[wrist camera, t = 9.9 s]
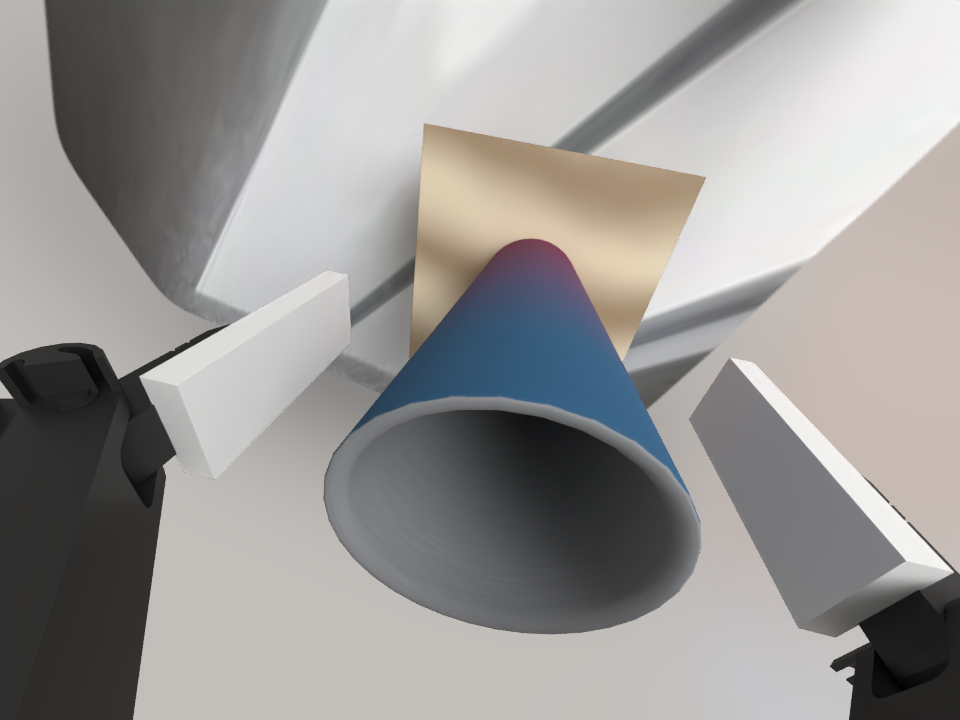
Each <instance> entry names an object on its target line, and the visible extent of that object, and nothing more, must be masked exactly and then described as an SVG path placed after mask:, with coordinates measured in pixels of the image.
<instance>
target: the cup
mask: <svg viewBox="0 0 960 720" xmlns="http://www.w3.org/2000/svg"><path fill="white" fill-rule="evenodd" d="M324 502H325V506H326V511H327V514H328V519H329V522H330V523H331V525H332V527H333V529H334V531H335V533H336V535H337V537H338V539H339V541H340V542H341V543H342V544H343V546H344V547H345V548H346V549H347V551H348V552H349V553H350V555H351V556H352V557H353V558H354V559H355V560H356V561H357V562H358V563H359V564H360V565H361V566H362V567H363V568H364V569H365V570H367V571H368V572H369V573H370V574H371V575H372V576H373V577H375V578H376V579H377V580H379V581H380V582H382V583H383V584H385V585H386V586H387V587H389V588H391V589H392V590H393V591H395V592H396V593H398V594H400V595H402V596H404V597H406V598H407V599H409V600H411V601H413V602H415V603H416V604H419V605H421V606H423V607H426V608H428V609H430V610H433V611H435V612H437V613H440V614H442V615H445V616H448V617H451V618H454V619H457V620H460V621H464V622H467V623H470V624H475V625H479V626H484V627H488V628H492V629H498V630H505V631H512V632H520V633H534V634H566V633H582V632H587V631H593V630H599V629H604V628H609V627H613V626H616V625H619V624H622V623H626V622H629V621H632V620H635V619H637V618H639V617H641V616H643V615H645V614H647V613H649V612H651V611H653V610H655V609H657V608H659V607H660V606H661V605H663V604H664V603H665V602H667V601H668V600H669V599H670V598H672V597H673V596H674V595H675V594H677V593H678V592H679V591H680V589H681V588H682V587H683V585H684V584H685V583H686V581H687V580H688V579H689V577H690V576H691V575H692V573H693V571H694V568H695V565H696V562H697V559H698V556H699V553H700V550H701V534H700V520H699V517H698V515H697V512H696V510H695V507H694V505H693V502H692V500H691V498H690V494H689V492H688V490H687V488H686V486H685V484H684V482H683V480H682V478H681V477H680V475H679V473H678V471H677V469H676V467H675V465H674V463H673V461H672V459H671V457H670V455H669V453H668V451H667V449H666V447H665V445H664V443H663V442H662V439H661V437H660V436H659V433H658V431H657V430H656V428H655V426H654V424H653V422H652V420H651V418H650V416H649V414H648V412H647V410H646V408H645V406H644V404H643V402H642V400H641V398H640V396H639V394H638V392H637V390H636V388H635V386H634V385H633V383H632V381H631V379H630V377H629V375H628V373H627V371H626V369H625V367H624V365H623V363H622V361H621V359H620V357H619V355H618V353H617V351H616V349H615V347H614V345H613V343H612V341H611V339H610V338H609V336H608V334H607V332H606V330H605V328H604V326H603V324H602V322H601V320H600V318H599V316H598V314H597V312H596V310H595V308H594V306H593V304H592V302H591V300H590V298H589V296H588V294H587V292H586V291H585V289H584V287H583V285H582V283H581V281H580V279H579V277H578V275H577V273H576V271H575V269H574V267H573V265H572V263H571V261H570V260H569V258H568V257H567V256H566V254H565V253H564V252H563V251H562V250H561V249H560V248H558V247H557V246H555V245H553V244H552V243H550V242H547V241H544V240H541V239H532V238H530V239H521V240H518V241H514V242H512V243H510V244H508V245H506V246H504V247H503V248H502V249H500V250H499V251H498V252H497V253H496V254H495V255H494V257H493V258H492V259H491V260H490V262H489V263H488V264H487V265H486V266H485V268H484V269H483V270H482V271H481V273H480V274H479V275H478V276H477V278H476V279H475V280H474V281H473V282H472V284H471V285H470V286H469V287H468V289H467V290H466V291H465V292H464V293H463V295H462V296H461V297H460V298H459V300H458V301H457V302H456V303H455V305H454V306H453V307H452V308H451V309H450V311H449V312H448V313H447V314H446V316H445V317H444V318H443V319H442V320H441V322H440V323H439V324H438V325H437V327H436V328H435V329H434V330H433V332H432V333H431V334H430V335H429V336H428V338H427V339H426V340H425V341H424V343H423V344H422V345H421V346H420V347H419V349H418V350H417V351H416V352H415V354H414V355H413V356H412V357H411V359H410V360H409V361H408V362H407V363H406V365H405V366H404V367H403V368H402V370H401V371H400V372H399V373H398V375H397V376H396V377H395V378H394V379H393V381H392V382H391V383H390V384H389V386H388V387H387V388H386V389H385V390H384V392H383V393H382V394H381V395H380V397H379V398H378V399H377V400H376V402H375V403H374V404H373V405H372V406H371V408H370V409H369V410H368V411H367V413H366V414H365V415H364V416H363V418H362V419H361V420H360V421H359V422H358V424H357V425H356V426H355V427H354V429H353V430H352V431H351V432H350V433H349V435H348V436H347V437H346V438H345V440H344V441H343V442H342V443H341V444H340V446H339V447H338V448H337V449H336V451H335V452H334V453H333V456H332V458H331V461H330V463H329V466H328V469H327V471H326V474H325V480H324Z"/></svg>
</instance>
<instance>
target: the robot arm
mask: <svg viewBox="0 0 960 720" xmlns="http://www.w3.org/2000/svg"><path fill="white" fill-rule="evenodd" d="M350 343H351V323H350V303H349V283H348V275H347V274H342V273H337V272H333V271H328V270H327V271H325V272H323V273H321V274H320V275H318V276H316V277H314V278H313V279H311V280H309V281H307V282H306V283H304V284H302V285H300V286H298V287H297V288H295V289H293V290H291V291H290V292H288V293H286V294H284V295H283V296H281V297H279V298H277V299H275V300H274V301H272V302H270V303H268V304H267V305H265V306H263V307H261V308H260V309H258V310H256V311H254V312H252V313H251V314H249V315H247V316H245V317H244V318H242V319H240V320H238V321H237V322H235V323H233V324H229V325H225V326H222V327H219V328H215V329H212V330H209V331H206V332H205V333H203V334H201V335H199V336H197V337H195V338H194V339H192V340H190V342H189V343H184V344H182V345H181V346H179V347H177V348H175V351H170V352H168V353H166V354H164V355H162V356H160V357H159V358H157V359H155V360H153V361H151V362H149V363H148V364H146V365H144V366H142V367H140V368H139V369H137V370H135V371H133V372H131V373H129V374H127V375H126V376H124V377H122V378H120V379H118V378H117V377H116V375H115V373H114V371H113V369H112V367H111V365H110V363H109V361H108V359H107V357H106V355H105V353H104V351H103V350H102V349H100V348H99V347H97V346H96V345H91V344H84V343H63V344H57V345H50V346H44V347H39V348H36V349H32V350H29V351H25V352H22V353H19V354H17V355H15V356H12V357H10V358H8V359H6V360H4V361H2V362H1V363H0V381H1V382H2V383H3V385H4V386H5V387H6V389H7V390H8V391H9V393H10V394H11V395H12V397H13V398H14V399H0V720H133V715H134V706H135V699H136V692H137V685H138V678H139V671H140V663H141V656H142V649H143V641H144V634H145V627H146V619H147V612H148V604H149V598H150V590H151V582H152V576H153V568H154V560H155V554H156V546H157V539H158V531H159V524H160V517H161V510H162V502H163V495H164V488H165V481H166V475H165V471H164V468H163V465H164V464H165V463H166V462H167V461H169V460H170V459H171V458H172V457H173V456H175V455H176V456H177V459H178V461H179V463H180V465H181V467H182V469H183V471H184V472H185V473H189V474H193V475H197V476H201V477H205V478H209V479H213V480H215V479H216V478H217V477H218V476H219V475H220V474H221V473H222V472H223V471H224V470H225V469H226V468H227V467H228V466H229V465H230V464H231V463H232V462H233V461H234V460H235V459H236V458H237V457H238V456H239V455H240V454H241V453H242V452H243V451H244V450H245V449H246V448H247V447H248V446H249V445H250V444H251V443H252V442H253V441H254V440H255V439H256V438H257V437H258V436H259V435H260V434H261V433H262V432H263V431H264V430H265V429H266V428H267V427H268V426H269V425H270V424H271V423H272V422H273V421H274V420H275V419H276V418H277V417H278V416H279V415H280V414H281V413H282V412H283V411H284V410H285V409H286V408H287V407H288V406H289V405H290V404H291V403H292V402H293V401H294V400H295V399H296V398H297V397H298V396H299V395H300V394H301V393H302V392H303V391H304V390H305V389H306V388H307V387H308V386H309V385H310V384H311V383H312V382H313V381H314V380H315V379H316V378H317V377H318V376H319V375H320V374H321V373H322V372H323V371H324V370H325V369H326V368H327V367H328V366H329V365H330V364H331V363H332V362H333V361H334V360H335V359H336V358H337V357H338V356H339V355H340V354H341V353H342V352H343V351H344V350H345V349H346V348H347V347H348V346H349V345H350ZM689 420H690V422H691V424H692V426H693V428H694V429H695V431H696V433H697V435H698V437H699V439H700V441H701V443H702V445H703V447H704V448H705V451H706V453H707V454H708V456H709V458H710V460H711V462H712V464H713V466H714V468H715V470H716V472H717V474H718V475H719V477H720V479H721V481H722V483H723V485H724V487H725V489H726V491H727V493H728V495H729V496H730V498H731V500H732V502H733V504H734V506H735V508H736V510H737V512H738V514H739V516H740V518H741V519H742V521H743V523H744V525H745V527H746V529H747V531H748V533H749V535H750V537H751V539H752V540H753V542H754V544H755V546H756V548H757V550H758V552H759V554H760V556H761V557H762V560H763V561H764V563H765V565H766V567H767V569H768V571H769V573H770V575H771V577H772V578H773V580H774V583H775V584H776V586H777V588H778V590H779V592H780V594H781V596H782V598H783V600H784V602H785V604H786V605H787V607H788V609H789V611H790V613H791V615H792V617H793V619H794V621H795V623H796V625H797V626H798V628H800V629H804V630H808V631H812V632H816V633H820V634H824V635H828V636H832V637H838V636H839V635H841V634H843V633H844V632H847V631H848V630H850V629H852V628H854V627H856V626H857V625H859V626H860V627H861V629H862V630H863V632H864V633H865V635H866V636H867V638H868V639H869V641H870V642H869V643H867V644H865V645H863V646H861V647H859V648H857V649H855V650H853V651H851V652H849V653H847V654H845V655H843V656H842V657H839V658H837V659H835V660H834V661H833V663H832V664H831V666H830V667H831V668H832V669H834V670H835V671H836V672H837V671H839V670H842V669H844V668H846V667H848V666H849V667H852V668H855V674H854V676H851V677H849V678H847V679H846V680H847V681H848V682H849V683H850V684H852V685H853V691H852V699H851V708H850V716H849V720H960V574H959V573H958V572H957V571H956V570H955V569H954V568H953V567H952V566H951V565H950V564H949V563H948V562H947V561H946V560H945V559H944V558H943V557H942V556H941V555H940V554H939V553H938V551H937V550H936V549H935V548H934V547H933V546H932V545H931V544H930V543H929V542H928V541H927V540H926V539H925V538H924V537H923V536H922V535H921V534H920V533H919V532H918V531H917V530H916V529H915V528H914V527H913V526H912V525H911V523H909V522H905V517H904V516H903V515H902V514H901V513H900V512H899V511H898V510H897V509H896V508H895V507H894V506H892V505H889V501H888V500H887V499H886V498H885V497H884V496H883V494H881V493H880V491H879V490H878V489H876V487H875V486H874V485H873V484H872V483H871V482H870V481H868V480H867V479H866V478H864V477H863V476H862V475H860V474H859V473H858V472H857V470H856V469H855V468H854V467H853V466H852V465H851V464H850V463H849V462H848V461H847V460H846V459H845V458H844V457H843V456H842V455H841V454H840V453H839V452H838V451H837V449H836V448H835V447H834V446H833V445H832V444H831V443H830V442H829V441H828V440H827V439H826V438H825V437H824V436H823V435H822V434H821V433H820V432H819V431H818V430H817V429H816V428H815V427H814V426H813V425H812V423H811V422H810V421H809V420H808V419H807V418H806V417H805V416H804V415H803V414H802V413H801V412H800V411H799V410H798V409H797V408H796V407H795V406H794V405H793V404H792V402H790V400H789V399H788V398H787V397H786V396H785V395H784V394H783V393H782V392H781V391H780V390H779V389H778V388H777V387H776V386H775V385H774V384H773V383H772V382H771V381H770V380H769V379H768V377H767V376H766V375H765V374H764V373H763V372H762V371H761V370H760V369H759V368H758V367H757V366H756V365H755V364H754V363H753V362H748V361H744V360H739V359H734V358H729V359H728V361H727V362H726V364H725V365H724V367H723V368H722V370H721V371H720V373H719V374H718V376H717V377H716V379H715V381H714V382H713V384H712V385H711V387H710V388H709V390H708V391H707V393H706V394H705V396H704V397H703V399H702V400H701V402H700V403H699V405H698V406H697V408H696V409H695V411H694V412H693V414H692V415H691V417H690V418H689Z"/></svg>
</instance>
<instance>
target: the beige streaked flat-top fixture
mask: <svg viewBox="0 0 960 720" xmlns="http://www.w3.org/2000/svg"><path fill="white" fill-rule="evenodd" d="M705 179H706V177H702V176H697V175H692V174H686V173H681V172H676V171H671V170H665V169H660V168H655V167H650V166H644V165H639V164H634V163H629V162H623V161H618V160H613V159H608V158H603V157H597V156H592V155H587V154H582V153H576V152H571V151H566V150H561V149H555V148H550V147H545V146H540V145H534V144H529V143H524V142H519V141H514V140H508V139H503V138H498V137H493V136H487V135H482V134H477V133H472V132H466V131H461V130H456V129H451V128H445V127H440V126H435V125H430V124H424V132H423V148H422V164H421V179H420V195H419V211H418V227H417V243H416V259H415V275H414V291H413V307H412V323H411V339H410V354H409V358H411V357H412V356H413V355H414V354H415V352H416V351H417V350H418V349H419V347H420V346H421V345H422V344H423V343H424V341H425V340H426V339H427V338H428V336H429V335H430V334H431V333H432V332H433V330H434V329H435V328H436V327H437V325H438V324H439V323H440V322H441V320H442V319H443V318H444V317H445V316H446V314H447V313H448V312H449V311H450V309H451V308H452V307H453V306H454V305H455V303H456V302H457V301H458V300H459V298H460V297H461V296H462V295H463V293H464V292H465V291H466V290H467V289H468V287H469V286H470V285H471V284H472V282H473V281H474V280H475V279H476V278H477V276H478V275H479V274H480V273H481V271H482V270H483V269H484V268H485V266H486V265H487V264H488V263H489V262H490V260H491V259H492V258H493V257H494V255H495V254H496V253H497V252H498V251H499V250H500V249H502V248H503V247H504V246H506V245H508V244H510V243H512V242H514V241H518V240H521V239H530V238H532V239H541V240H544V241H547V242H550V243H552V244H553V245H555V246H557V247H558V248H560V249H561V250H562V251H563V252H564V253H565V254H566V256H567V257H568V258H569V260H570V261H571V263H572V265H573V267H574V269H575V271H576V273H577V275H578V277H579V279H580V281H581V283H582V285H583V287H584V289H585V291H586V292H587V294H588V296H589V298H590V300H591V302H592V304H593V306H594V308H595V310H596V312H597V314H598V316H599V318H600V320H601V322H602V324H603V326H604V328H605V330H606V332H607V334H608V336H609V338H610V339H611V341H612V343H613V345H614V347H615V349H616V351H617V353H618V355H619V357H620V359H621V361H622V362H623V359H624V357H625V355H626V353H627V351H628V348H629V346H630V344H631V342H632V340H633V337H634V335H635V333H636V331H637V329H638V326H639V324H640V322H641V320H642V318H643V315H644V313H645V311H646V309H647V307H648V304H649V302H650V300H651V298H652V296H653V293H654V291H655V289H656V287H657V284H658V282H659V280H660V278H661V276H662V273H663V271H664V269H665V267H666V265H667V262H668V260H669V258H670V256H671V254H672V251H673V249H674V247H675V245H676V243H677V240H678V238H679V236H680V234H681V232H682V229H683V227H684V225H685V223H686V221H687V218H688V216H689V214H690V212H691V210H692V207H693V205H694V203H695V201H696V198H697V196H698V194H699V192H700V190H701V187H702V185H703V183H704V181H705Z"/></svg>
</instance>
